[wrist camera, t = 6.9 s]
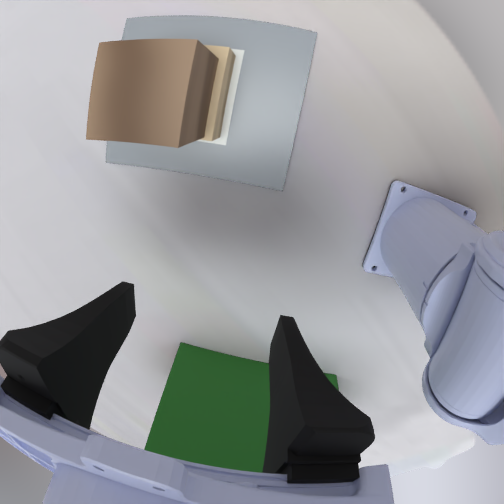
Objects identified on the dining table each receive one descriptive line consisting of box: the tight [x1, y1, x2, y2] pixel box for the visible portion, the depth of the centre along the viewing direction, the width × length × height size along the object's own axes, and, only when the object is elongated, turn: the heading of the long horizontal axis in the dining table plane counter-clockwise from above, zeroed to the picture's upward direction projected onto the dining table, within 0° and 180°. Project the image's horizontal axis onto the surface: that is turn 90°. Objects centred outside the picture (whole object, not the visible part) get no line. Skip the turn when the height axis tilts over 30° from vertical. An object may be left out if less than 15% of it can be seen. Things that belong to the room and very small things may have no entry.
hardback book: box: [144, 342, 339, 473], centre depth 20 cm, size 18×7×24 cm, turn 76°
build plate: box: [106, 16, 317, 191], centre depth 18 cm, size 14×12×1 cm
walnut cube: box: [86, 39, 219, 148], centre depth 13 cm, size 5×5×5 cm
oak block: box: [199, 45, 236, 141], centre depth 16 cm, size 6×6×3 cm
